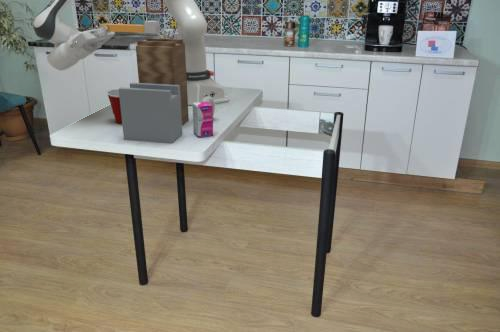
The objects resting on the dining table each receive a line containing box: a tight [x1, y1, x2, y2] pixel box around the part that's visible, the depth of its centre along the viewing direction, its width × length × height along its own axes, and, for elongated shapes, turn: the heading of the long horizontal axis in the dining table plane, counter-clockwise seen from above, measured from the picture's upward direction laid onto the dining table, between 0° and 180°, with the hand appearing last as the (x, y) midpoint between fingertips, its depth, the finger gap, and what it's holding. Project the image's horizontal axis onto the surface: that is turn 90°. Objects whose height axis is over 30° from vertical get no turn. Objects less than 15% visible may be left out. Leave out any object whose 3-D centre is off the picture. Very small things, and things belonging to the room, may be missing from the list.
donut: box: [201, 96, 216, 116], centre depth 185 cm, size 10×4×10 cm, turn 161°
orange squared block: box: [99, 20, 161, 35], centre depth 173 cm, size 22×4×4 cm, turn 76°
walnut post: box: [135, 37, 190, 127], centre depth 178 cm, size 14×12×32 cm
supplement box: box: [192, 102, 214, 139], centre depth 170 cm, size 6×6×12 cm
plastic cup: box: [106, 88, 122, 125], centre depth 185 cm, size 11×11×12 cm
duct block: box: [118, 82, 184, 144], centre depth 166 cm, size 18×10×18 cm, turn 76°
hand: (109, 26), depth 175 cm, fingers closed on orange squared block, 2 cm apart
